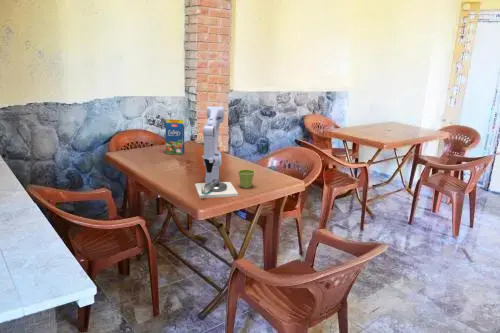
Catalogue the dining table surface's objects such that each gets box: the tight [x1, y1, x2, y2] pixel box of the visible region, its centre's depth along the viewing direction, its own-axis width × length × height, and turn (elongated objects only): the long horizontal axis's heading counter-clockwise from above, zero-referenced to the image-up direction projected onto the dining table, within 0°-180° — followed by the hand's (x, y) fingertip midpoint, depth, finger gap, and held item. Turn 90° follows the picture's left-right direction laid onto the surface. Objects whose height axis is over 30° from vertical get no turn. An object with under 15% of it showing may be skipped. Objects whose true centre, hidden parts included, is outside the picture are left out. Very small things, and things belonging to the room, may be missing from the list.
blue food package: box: [165, 118, 185, 156], centre depth 294 cm, size 6×12×25 cm, turn 84°
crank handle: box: [201, 179, 227, 194], centre depth 215 cm, size 22×12×4 cm, turn 159°
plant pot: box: [237, 169, 256, 189], centre depth 228 cm, size 9×9×9 cm
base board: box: [194, 181, 239, 199], centre depth 220 cm, size 20×20×2 cm
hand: (209, 172), depth 221 cm, fingers closed
